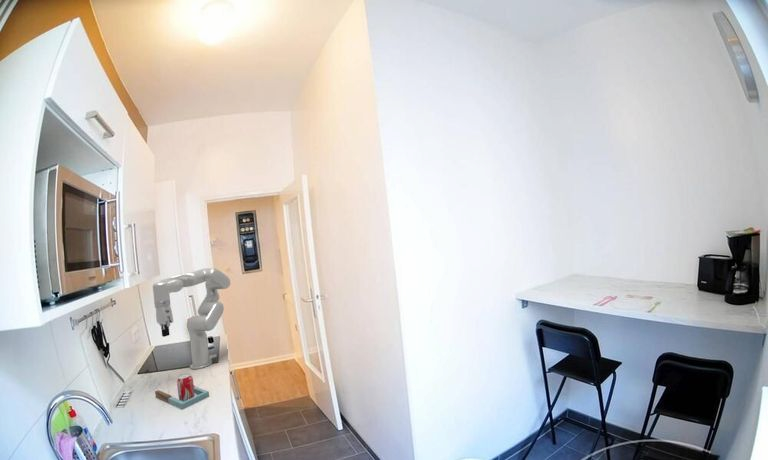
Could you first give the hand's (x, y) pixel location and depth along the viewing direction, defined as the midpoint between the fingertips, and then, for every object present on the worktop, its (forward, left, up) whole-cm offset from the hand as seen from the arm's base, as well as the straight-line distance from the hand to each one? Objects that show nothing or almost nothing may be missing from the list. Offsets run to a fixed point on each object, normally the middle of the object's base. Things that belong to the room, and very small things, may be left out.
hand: (165, 335), depth 198 cm
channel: (+6, +18, -27) cm, 33 cm away
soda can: (+6, +31, -27) cm, 41 cm away
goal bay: (+6, +31, -27) cm, 42 cm away
